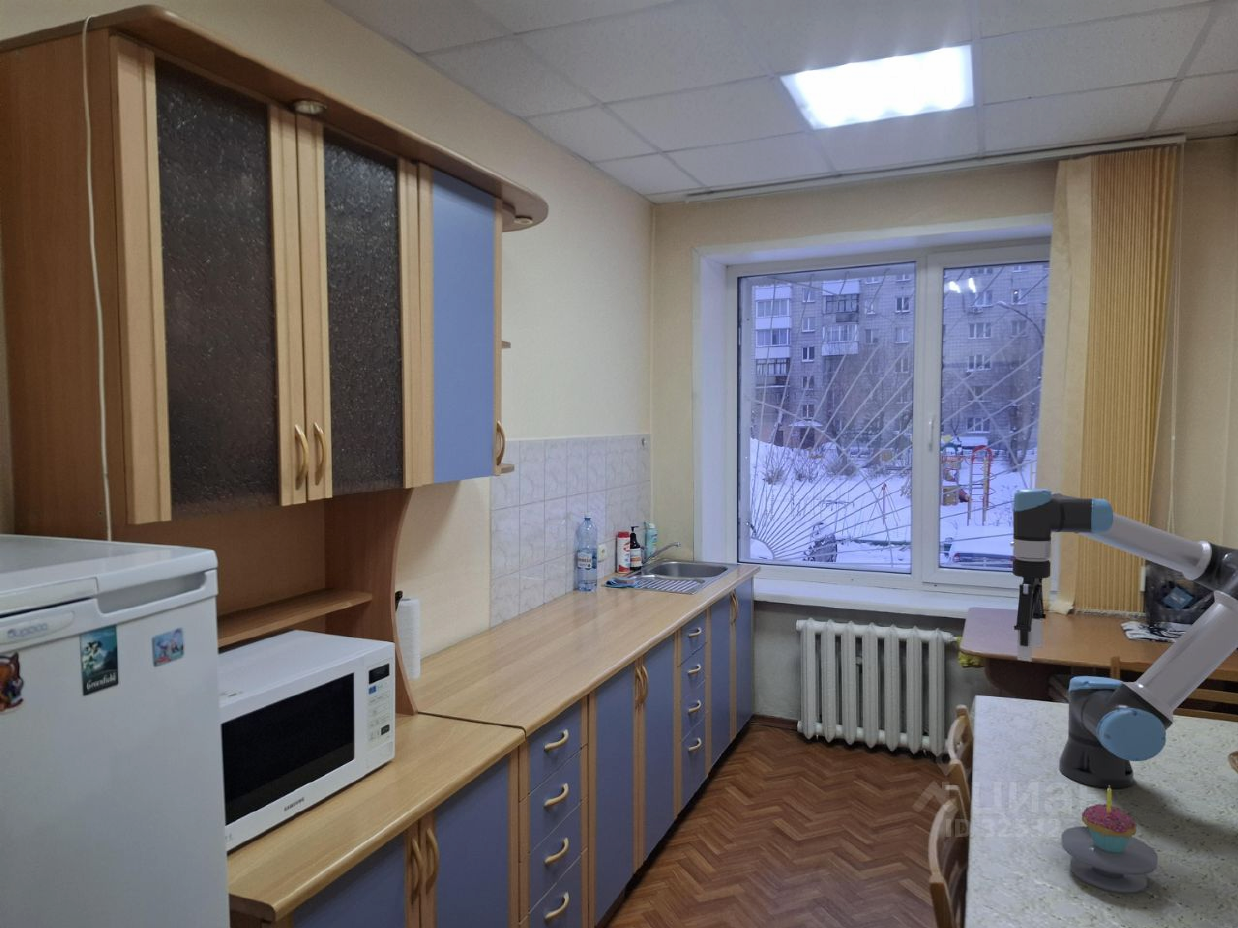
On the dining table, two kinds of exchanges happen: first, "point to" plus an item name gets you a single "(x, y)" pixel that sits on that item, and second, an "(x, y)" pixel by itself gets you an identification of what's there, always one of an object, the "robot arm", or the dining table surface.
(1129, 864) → the cake stand
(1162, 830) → the dining table surface
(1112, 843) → the cupcake
